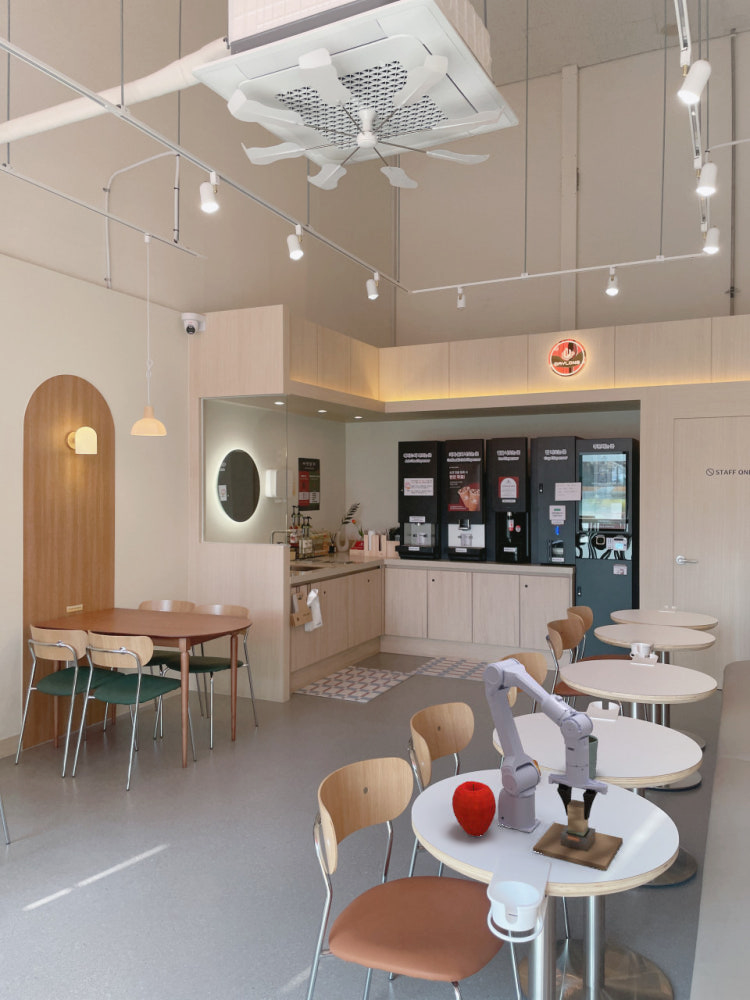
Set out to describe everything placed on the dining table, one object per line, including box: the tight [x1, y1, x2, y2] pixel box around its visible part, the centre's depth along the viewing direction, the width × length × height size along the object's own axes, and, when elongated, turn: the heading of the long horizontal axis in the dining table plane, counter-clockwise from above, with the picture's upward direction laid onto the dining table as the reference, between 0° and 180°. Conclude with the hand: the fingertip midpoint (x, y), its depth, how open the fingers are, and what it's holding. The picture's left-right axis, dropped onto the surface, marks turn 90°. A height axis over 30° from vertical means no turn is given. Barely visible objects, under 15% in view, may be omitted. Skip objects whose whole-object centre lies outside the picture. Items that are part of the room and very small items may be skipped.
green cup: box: [586, 734, 599, 781], centre depth 236 cm, size 10×10×12 cm
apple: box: [451, 780, 497, 837], centre depth 199 cm, size 12×12×13 cm
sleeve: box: [561, 824, 596, 852], centre depth 190 cm, size 7×7×3 cm
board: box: [532, 822, 624, 872], centre depth 190 cm, size 18×16×1 cm
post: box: [567, 798, 590, 836], centre depth 190 cm, size 4×4×7 cm
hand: (577, 816), depth 190 cm, fingers closed on post, 4 cm apart
